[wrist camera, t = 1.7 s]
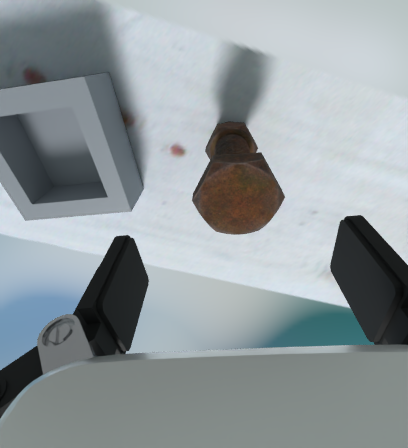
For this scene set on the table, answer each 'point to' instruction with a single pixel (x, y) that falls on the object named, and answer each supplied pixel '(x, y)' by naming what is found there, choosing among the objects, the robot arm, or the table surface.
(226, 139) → the bolt
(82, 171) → the socket block
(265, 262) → the table surface
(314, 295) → the table surface
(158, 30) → the table surface
